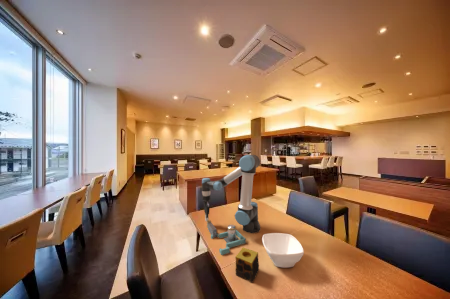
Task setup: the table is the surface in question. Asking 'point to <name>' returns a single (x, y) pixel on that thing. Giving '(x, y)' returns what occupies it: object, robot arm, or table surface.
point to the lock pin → (211, 228)
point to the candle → (247, 264)
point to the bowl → (283, 249)
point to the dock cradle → (230, 244)
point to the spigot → (231, 233)
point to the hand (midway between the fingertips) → (206, 220)
